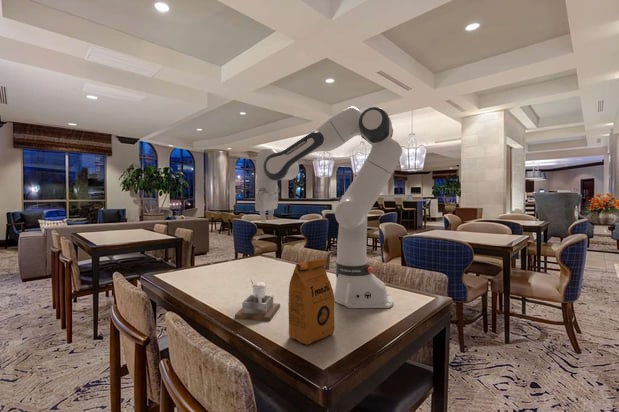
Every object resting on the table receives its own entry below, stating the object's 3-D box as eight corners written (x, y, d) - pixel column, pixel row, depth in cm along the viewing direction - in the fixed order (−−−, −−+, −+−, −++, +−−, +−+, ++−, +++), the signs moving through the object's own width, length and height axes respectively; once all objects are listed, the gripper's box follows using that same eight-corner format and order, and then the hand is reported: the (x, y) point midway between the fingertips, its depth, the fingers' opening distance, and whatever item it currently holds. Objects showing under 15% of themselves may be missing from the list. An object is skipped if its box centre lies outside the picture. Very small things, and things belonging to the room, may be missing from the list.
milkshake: (254, 305, 107) (254, 277, 106) (268, 307, 105) (268, 279, 105) (248, 310, 103) (247, 281, 102) (262, 312, 101) (261, 282, 100)
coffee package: (340, 336, 87) (340, 260, 86) (305, 350, 79) (305, 266, 78) (317, 324, 94) (317, 254, 93) (284, 336, 87) (283, 260, 86)
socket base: (280, 307, 109) (280, 294, 109) (270, 320, 97) (269, 306, 97) (248, 304, 111) (248, 292, 111) (234, 318, 99) (234, 304, 99)
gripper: (266, 187, 118) (266, 223, 118) (280, 188, 138) (280, 218, 138) (250, 187, 119) (251, 223, 119) (267, 188, 139) (267, 218, 140)
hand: (267, 220), depth 129 cm, fingers open, 8 cm apart
